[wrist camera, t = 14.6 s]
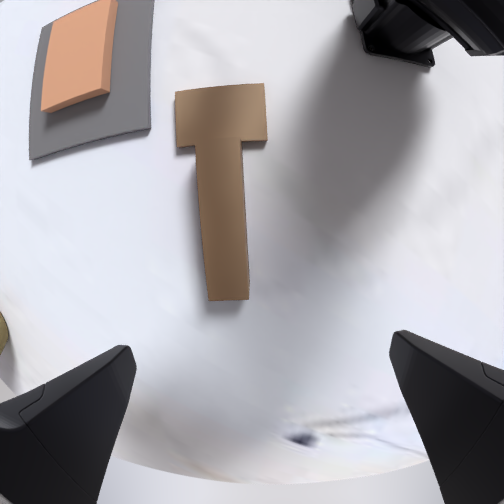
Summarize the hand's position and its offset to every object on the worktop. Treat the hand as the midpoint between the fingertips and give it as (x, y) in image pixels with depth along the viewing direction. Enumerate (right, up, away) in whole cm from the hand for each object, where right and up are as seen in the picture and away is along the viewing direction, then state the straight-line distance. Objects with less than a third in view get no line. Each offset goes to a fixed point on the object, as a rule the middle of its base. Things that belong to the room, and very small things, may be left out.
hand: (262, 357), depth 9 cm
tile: (-14, +15, +7) cm, 21 cm away
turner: (-2, +8, +10) cm, 13 cm away
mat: (-14, +18, +7) cm, 24 cm away
